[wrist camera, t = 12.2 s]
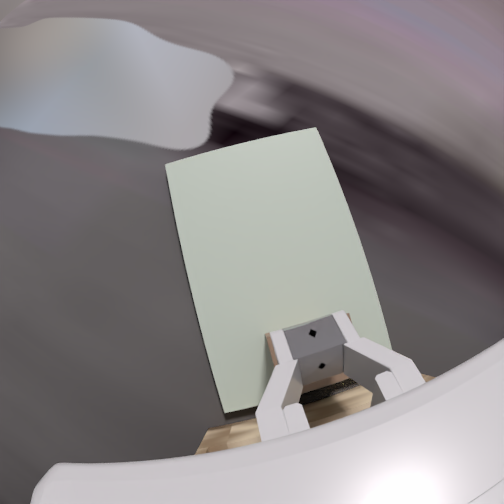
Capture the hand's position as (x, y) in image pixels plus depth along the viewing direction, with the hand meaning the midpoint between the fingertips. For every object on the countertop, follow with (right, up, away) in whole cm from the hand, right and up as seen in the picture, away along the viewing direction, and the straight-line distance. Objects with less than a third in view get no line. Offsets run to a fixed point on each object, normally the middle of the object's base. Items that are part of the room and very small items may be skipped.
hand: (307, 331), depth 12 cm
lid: (-1, +2, +10) cm, 10 cm away
